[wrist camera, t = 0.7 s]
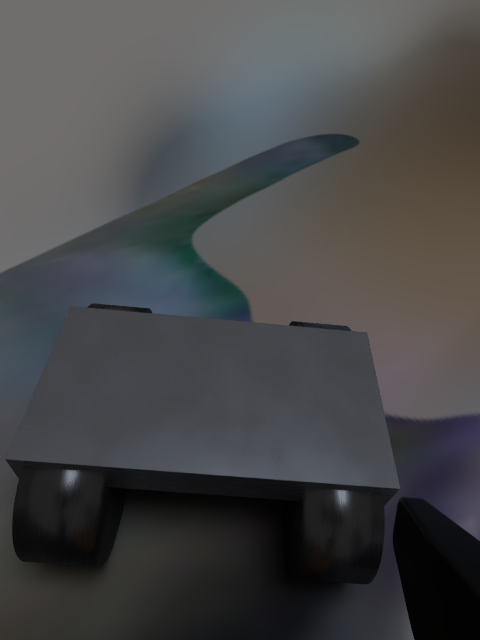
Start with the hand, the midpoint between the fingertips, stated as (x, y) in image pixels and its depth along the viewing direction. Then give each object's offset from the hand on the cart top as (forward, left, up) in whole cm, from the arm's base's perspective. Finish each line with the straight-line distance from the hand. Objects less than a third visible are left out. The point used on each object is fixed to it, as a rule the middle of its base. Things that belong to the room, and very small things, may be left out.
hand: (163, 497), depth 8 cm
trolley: (+8, -1, -14) cm, 16 cm away
